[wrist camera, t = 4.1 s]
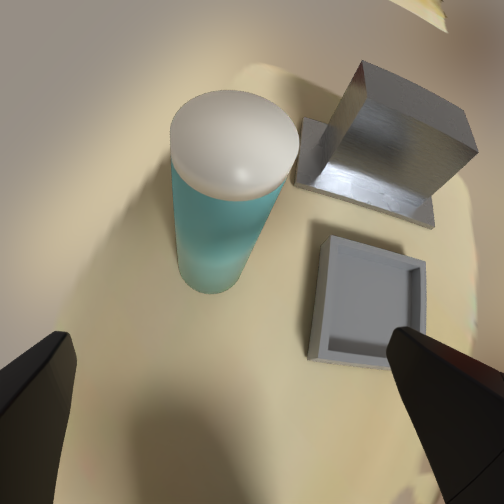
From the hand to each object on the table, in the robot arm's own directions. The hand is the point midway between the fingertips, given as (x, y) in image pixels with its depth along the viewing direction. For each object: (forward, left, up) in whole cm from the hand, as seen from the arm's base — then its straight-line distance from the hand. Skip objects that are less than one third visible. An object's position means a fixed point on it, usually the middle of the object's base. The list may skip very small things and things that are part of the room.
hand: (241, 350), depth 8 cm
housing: (+19, -10, -13) cm, 25 cm away
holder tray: (+6, -10, -13) cm, 17 cm away
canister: (+7, +2, -13) cm, 14 cm away
